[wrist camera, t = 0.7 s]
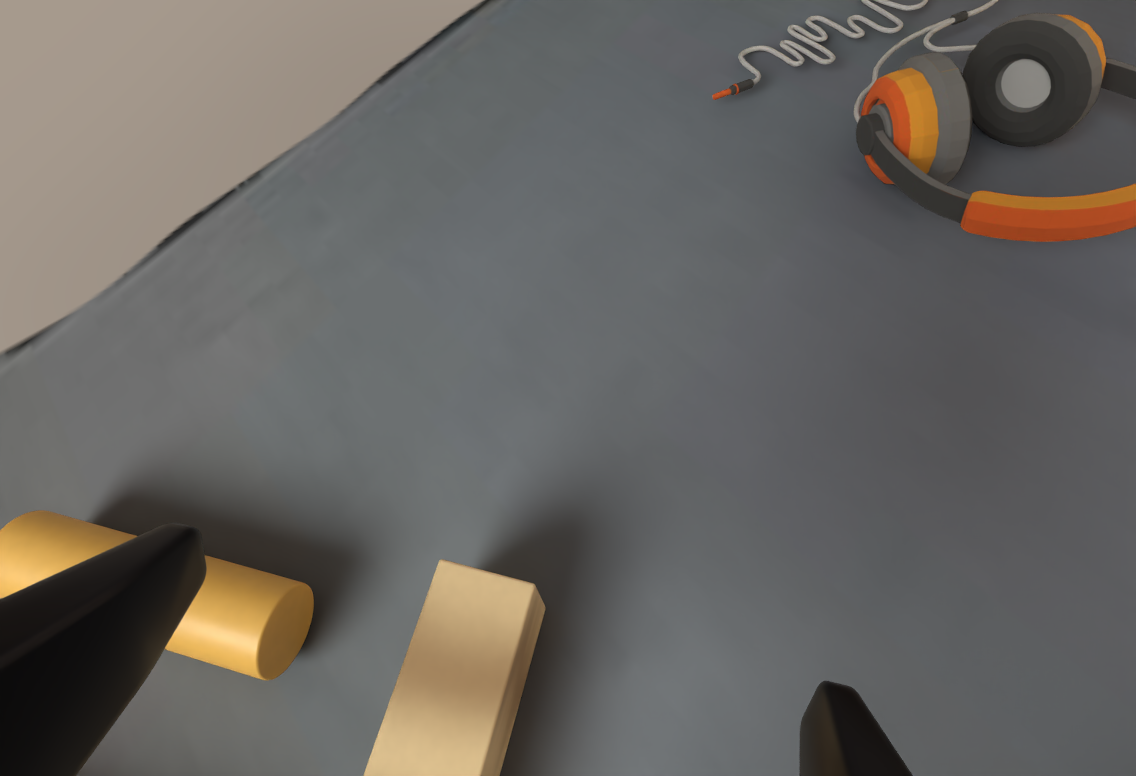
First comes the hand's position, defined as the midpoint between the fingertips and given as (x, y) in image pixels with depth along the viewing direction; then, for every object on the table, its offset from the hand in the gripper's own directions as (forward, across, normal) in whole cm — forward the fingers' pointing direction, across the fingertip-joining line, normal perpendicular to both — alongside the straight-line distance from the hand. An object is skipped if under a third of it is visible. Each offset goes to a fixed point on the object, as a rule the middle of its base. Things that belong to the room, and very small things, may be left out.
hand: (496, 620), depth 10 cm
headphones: (+30, -12, -4) cm, 32 cm away
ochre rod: (+8, +13, +12) cm, 20 cm away
